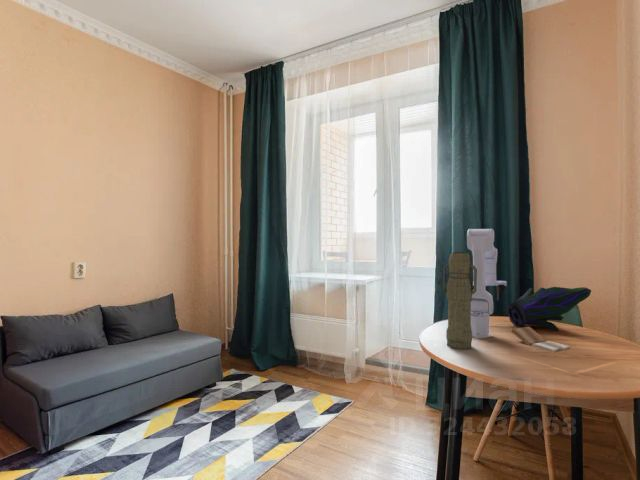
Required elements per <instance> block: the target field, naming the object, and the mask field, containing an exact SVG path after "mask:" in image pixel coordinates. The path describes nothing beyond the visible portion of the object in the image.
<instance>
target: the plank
mask: <svg viewBox="0 0 640 480" xmlns="http://www.w3.org/2000/svg"><path fill="white" fill-rule="evenodd" d="M510 332H511V333H512V334H513V335H515V336H516V337H517V338H518V339H519V340H521V341H522V342H523V343H524V344H526V345H527V346H531V344H533V343H538V342H543V341H547V339H545V337H544V336H542V335H540V334H539V333H538V332H536V331H535V330H534V329H533V328H532V327H531V326H524V327H523V326H522V327H518V328H512V329H511V331H510Z"/></svg>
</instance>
